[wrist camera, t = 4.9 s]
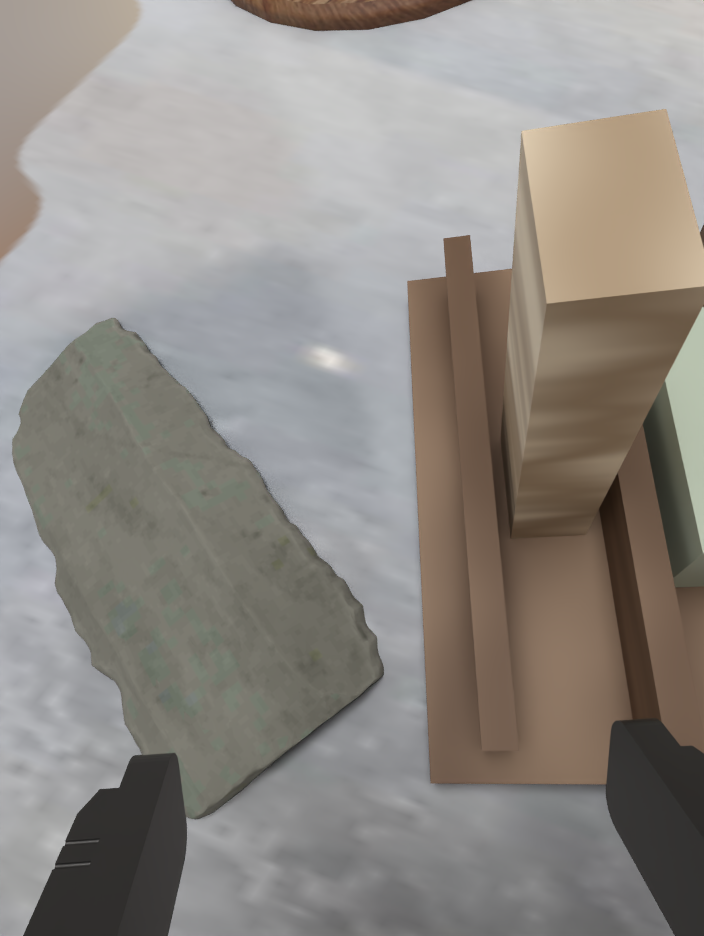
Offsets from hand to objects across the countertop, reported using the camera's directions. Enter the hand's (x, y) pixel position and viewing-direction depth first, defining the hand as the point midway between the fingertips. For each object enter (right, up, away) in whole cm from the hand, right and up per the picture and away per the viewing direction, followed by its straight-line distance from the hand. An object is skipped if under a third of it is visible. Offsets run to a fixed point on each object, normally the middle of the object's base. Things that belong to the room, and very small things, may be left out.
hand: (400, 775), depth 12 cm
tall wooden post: (+6, +5, +12) cm, 15 cm away
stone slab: (-9, +3, +17) cm, 19 cm away
